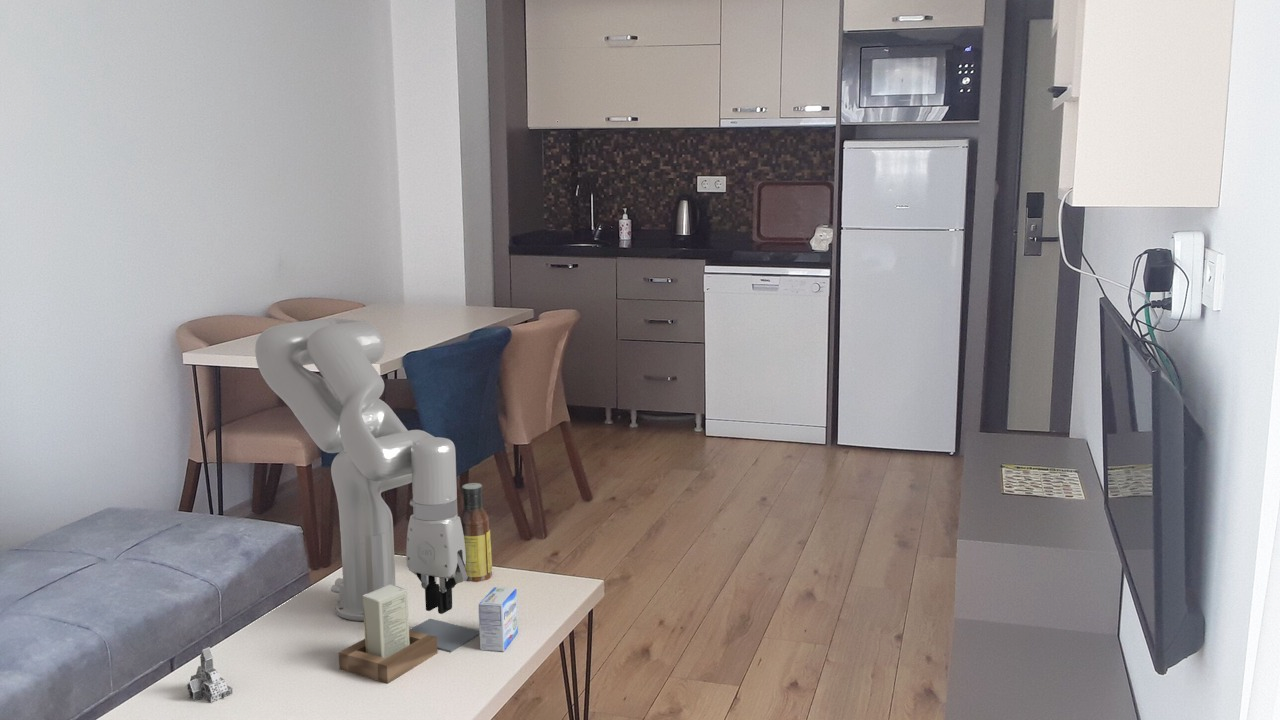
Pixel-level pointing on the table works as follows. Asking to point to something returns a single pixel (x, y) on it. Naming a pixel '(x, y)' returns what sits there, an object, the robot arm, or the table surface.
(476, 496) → the sauce bottle
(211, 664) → the grey toy block stack
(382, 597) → the skincare box
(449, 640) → the charcoal mat
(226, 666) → the table surface
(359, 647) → the walnut holder
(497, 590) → the medicine box
